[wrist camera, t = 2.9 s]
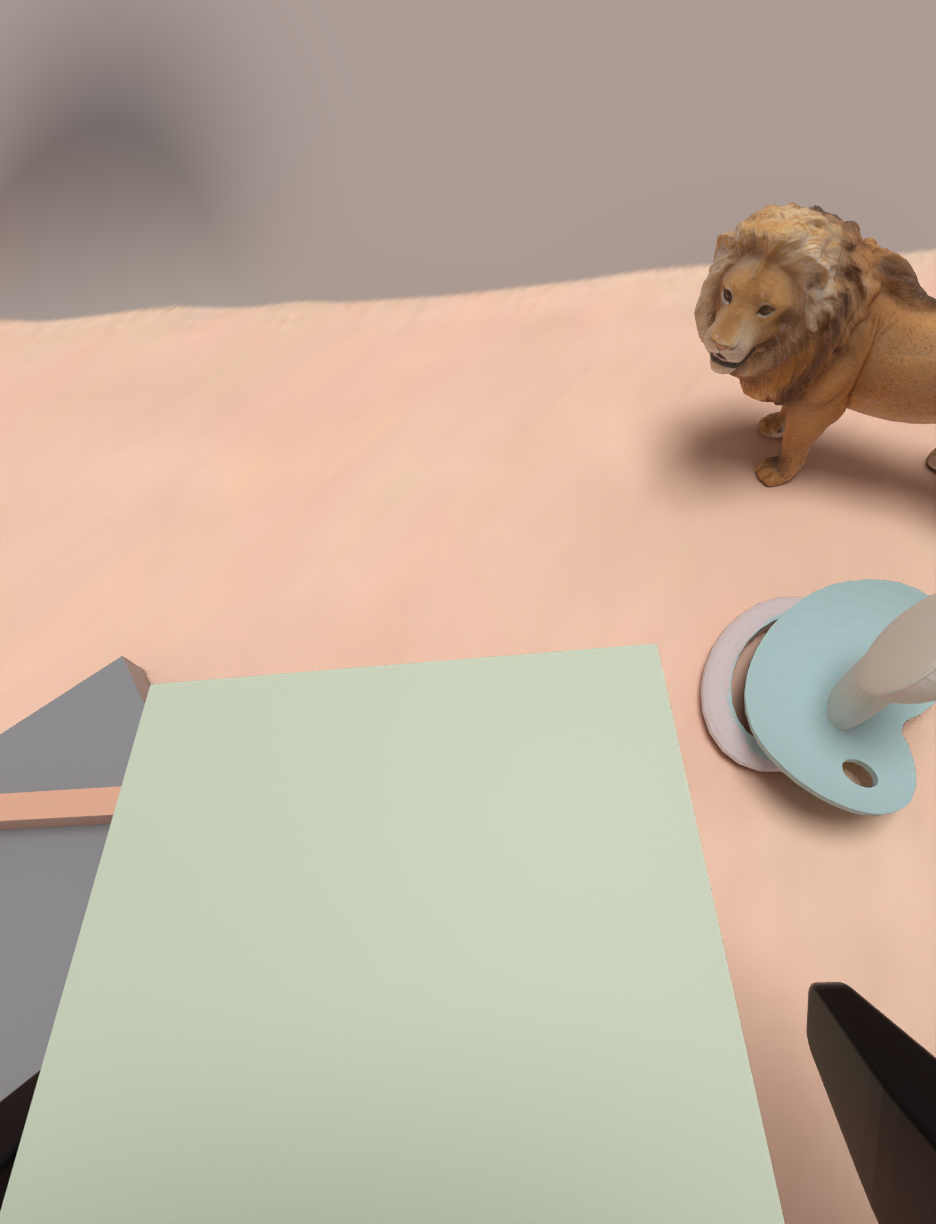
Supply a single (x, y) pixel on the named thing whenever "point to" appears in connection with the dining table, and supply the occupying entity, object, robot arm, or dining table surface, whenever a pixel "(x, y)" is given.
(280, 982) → the pillar
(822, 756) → the pacifier
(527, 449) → the dining table surface
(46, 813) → the collar
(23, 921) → the baseplate
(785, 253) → the lion figurine
